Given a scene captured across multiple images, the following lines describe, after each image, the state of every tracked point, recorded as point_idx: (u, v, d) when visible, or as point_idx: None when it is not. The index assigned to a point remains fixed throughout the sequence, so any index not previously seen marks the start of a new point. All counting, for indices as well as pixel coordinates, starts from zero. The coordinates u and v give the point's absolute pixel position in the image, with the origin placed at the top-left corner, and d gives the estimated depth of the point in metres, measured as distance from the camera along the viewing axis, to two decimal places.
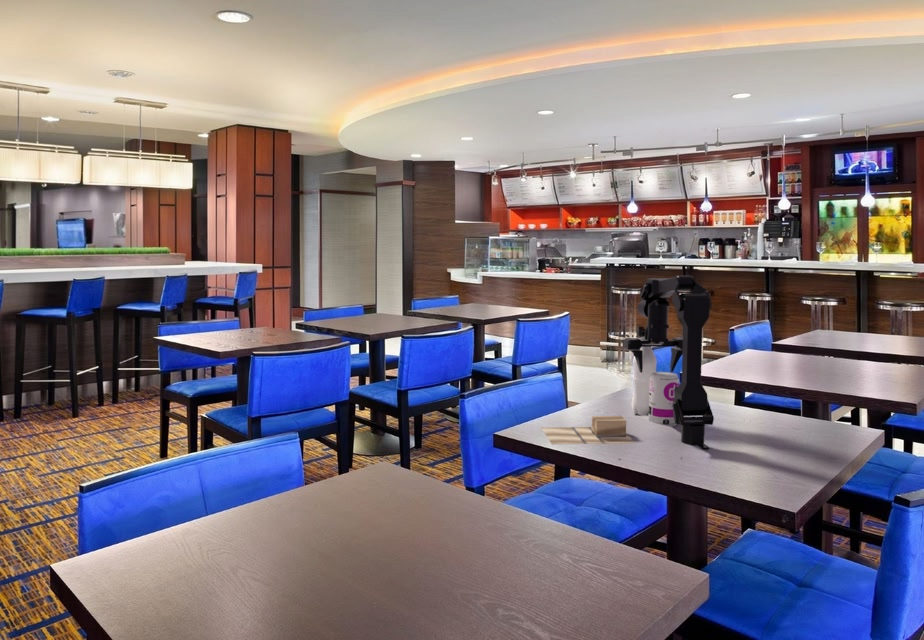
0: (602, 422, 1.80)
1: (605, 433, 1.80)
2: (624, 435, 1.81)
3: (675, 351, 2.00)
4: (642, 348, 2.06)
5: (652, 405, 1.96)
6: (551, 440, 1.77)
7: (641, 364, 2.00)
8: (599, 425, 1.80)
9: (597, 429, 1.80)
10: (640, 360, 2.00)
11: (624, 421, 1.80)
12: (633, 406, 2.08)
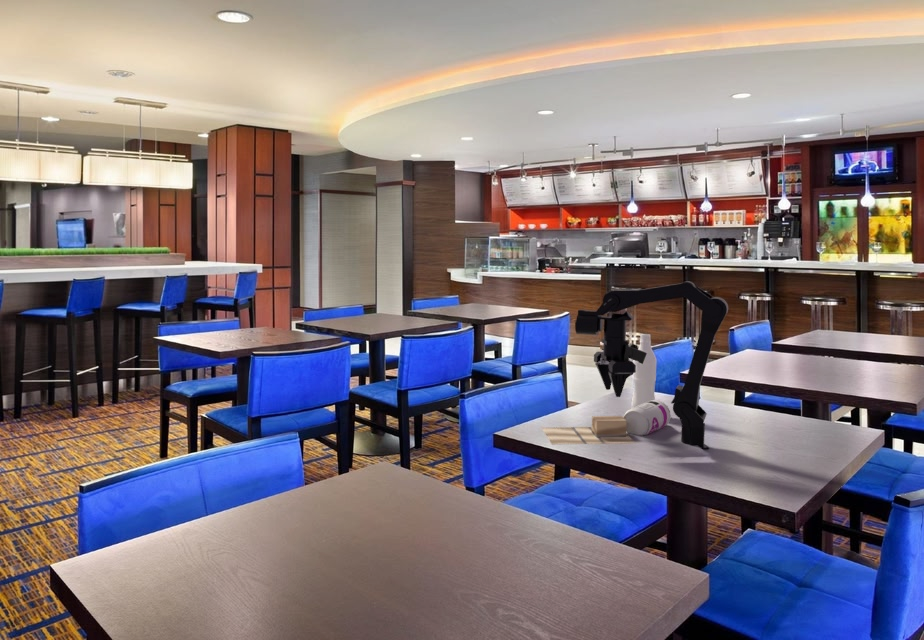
0: (602, 422, 1.80)
1: (605, 433, 1.80)
2: (624, 435, 1.81)
3: None
4: (642, 348, 2.06)
5: None
6: (551, 440, 1.77)
7: None
8: (599, 425, 1.80)
9: (597, 429, 1.80)
10: (600, 375, 1.88)
11: (624, 421, 1.80)
12: (633, 406, 2.08)
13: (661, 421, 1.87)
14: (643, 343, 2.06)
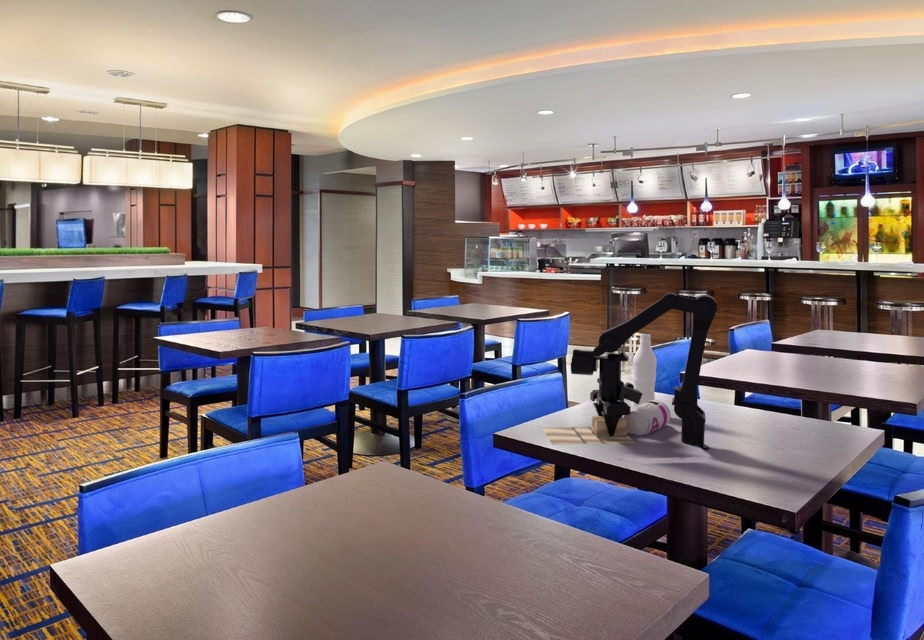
0: (602, 422, 1.80)
1: (605, 433, 1.80)
2: (624, 435, 1.81)
3: None
4: (642, 348, 2.06)
5: None
6: (551, 440, 1.77)
7: None
8: (599, 425, 1.80)
9: (597, 429, 1.80)
10: (598, 415, 1.86)
11: (624, 421, 1.80)
12: (633, 406, 2.08)
13: (661, 421, 1.87)
14: (643, 343, 2.06)
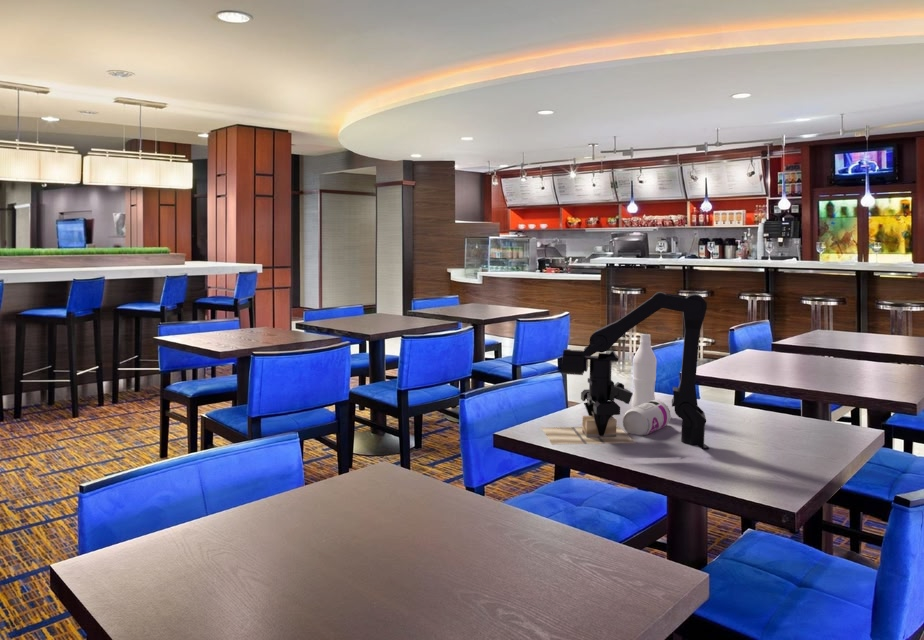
0: (592, 422, 1.80)
1: (595, 433, 1.80)
2: (614, 435, 1.80)
3: None
4: (642, 348, 2.06)
5: None
6: (551, 440, 1.77)
7: None
8: (589, 424, 1.80)
9: (587, 429, 1.80)
10: (589, 415, 1.86)
11: (614, 421, 1.80)
12: (633, 406, 2.08)
13: (661, 421, 1.87)
14: (643, 343, 2.06)
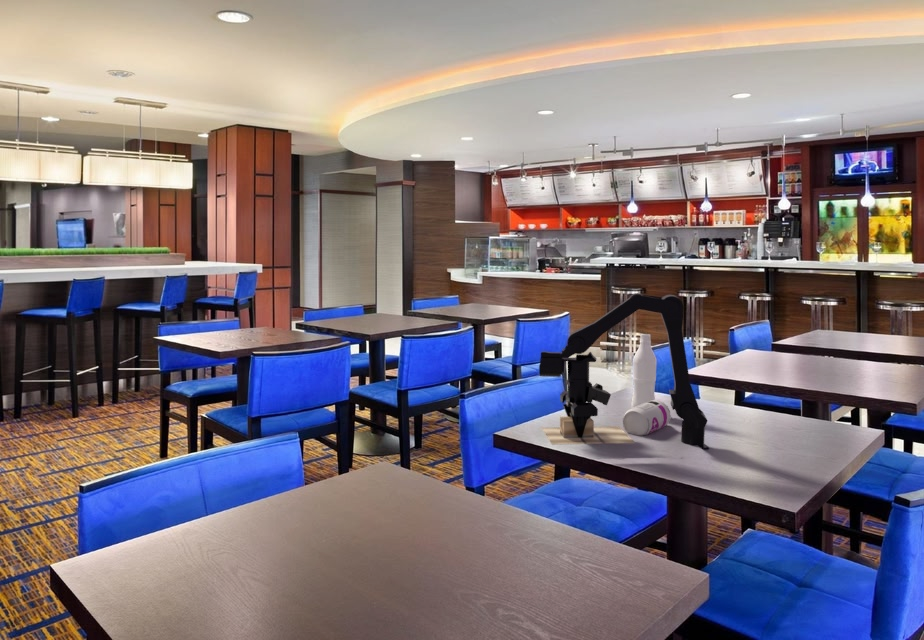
0: (569, 422, 1.79)
1: (572, 434, 1.80)
2: (592, 436, 1.80)
3: None
4: (642, 348, 2.06)
5: None
6: (551, 440, 1.77)
7: None
8: (566, 425, 1.79)
9: (564, 429, 1.79)
10: None
11: (591, 421, 1.80)
12: (633, 406, 2.08)
13: (661, 421, 1.87)
14: (643, 343, 2.06)
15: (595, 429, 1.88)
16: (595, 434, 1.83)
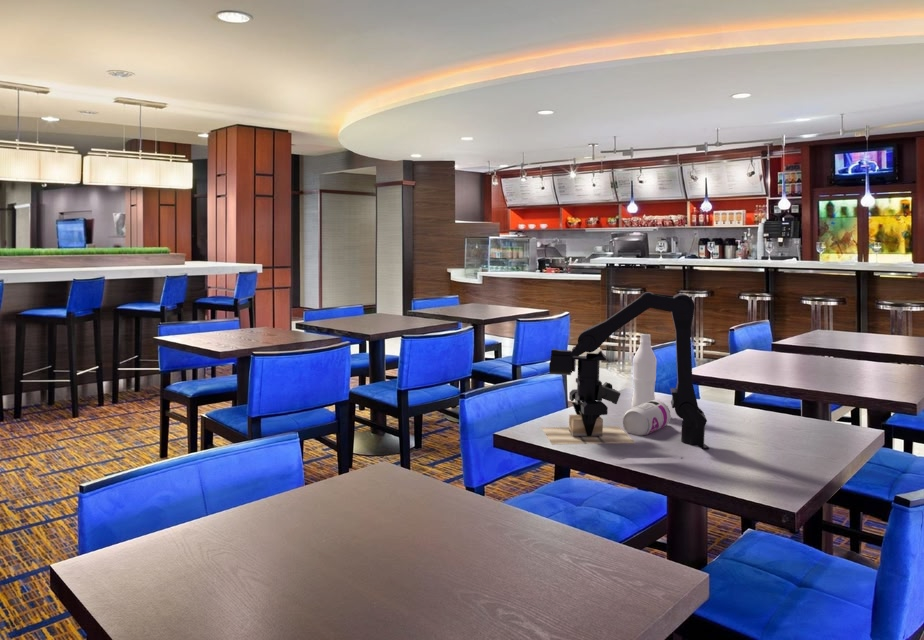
0: (579, 421, 1.79)
1: (581, 432, 1.80)
2: (600, 434, 1.80)
3: None
4: (642, 348, 2.06)
5: None
6: (551, 440, 1.77)
7: None
8: (575, 423, 1.80)
9: (573, 428, 1.80)
10: None
11: (601, 420, 1.80)
12: (633, 406, 2.08)
13: (661, 421, 1.87)
14: (643, 343, 2.06)
15: None
16: None
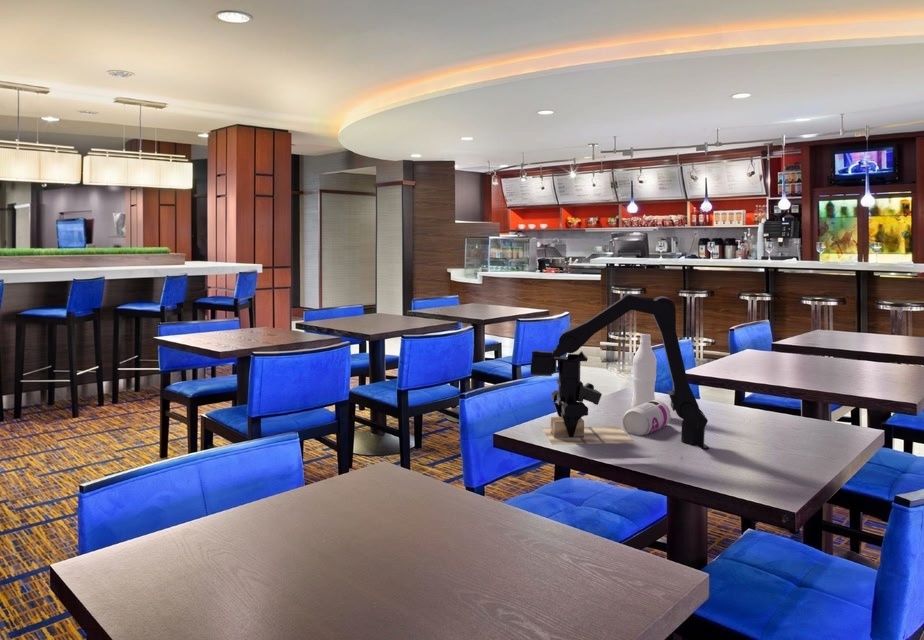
0: (560, 423, 1.79)
1: (563, 434, 1.80)
2: (582, 436, 1.80)
3: None
4: (642, 348, 2.06)
5: None
6: (551, 440, 1.77)
7: None
8: (556, 425, 1.79)
9: (555, 430, 1.79)
10: None
11: (582, 422, 1.80)
12: (633, 406, 2.08)
13: (661, 421, 1.87)
14: (643, 343, 2.06)
15: (595, 429, 1.88)
16: (595, 434, 1.83)
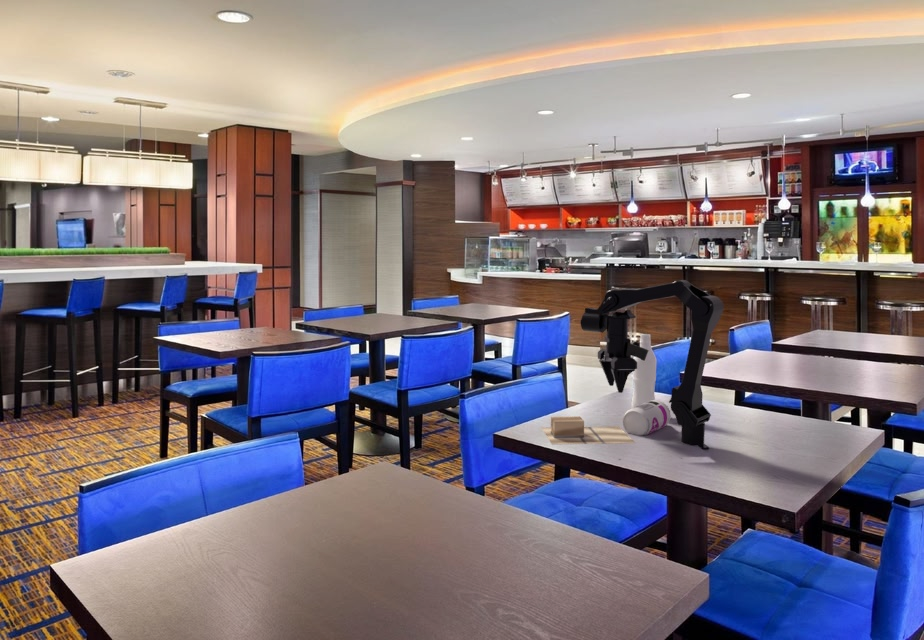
0: (560, 423, 1.79)
1: (563, 434, 1.80)
2: (582, 436, 1.80)
3: None
4: None
5: None
6: (551, 440, 1.77)
7: (606, 376, 1.94)
8: (556, 425, 1.79)
9: (555, 430, 1.79)
10: (604, 371, 1.95)
11: (582, 422, 1.80)
12: (633, 406, 2.08)
13: (661, 421, 1.87)
14: (643, 343, 2.06)
15: (595, 429, 1.88)
16: (595, 434, 1.83)
